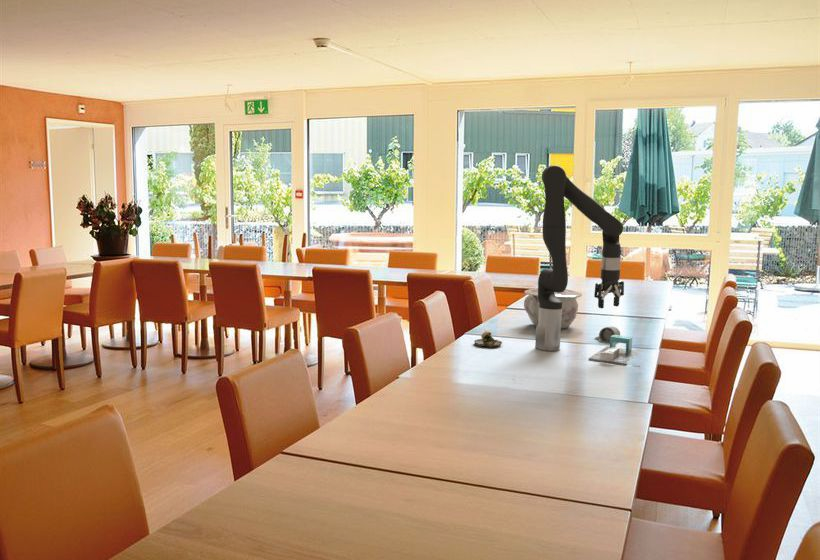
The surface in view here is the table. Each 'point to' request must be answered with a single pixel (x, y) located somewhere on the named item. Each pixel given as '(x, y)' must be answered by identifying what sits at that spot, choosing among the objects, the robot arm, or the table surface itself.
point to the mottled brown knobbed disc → (487, 340)
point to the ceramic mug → (607, 333)
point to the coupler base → (613, 356)
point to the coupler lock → (621, 339)
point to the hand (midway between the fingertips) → (608, 307)
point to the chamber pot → (565, 297)
